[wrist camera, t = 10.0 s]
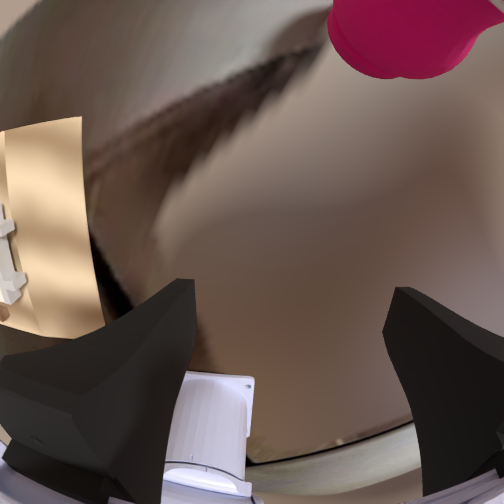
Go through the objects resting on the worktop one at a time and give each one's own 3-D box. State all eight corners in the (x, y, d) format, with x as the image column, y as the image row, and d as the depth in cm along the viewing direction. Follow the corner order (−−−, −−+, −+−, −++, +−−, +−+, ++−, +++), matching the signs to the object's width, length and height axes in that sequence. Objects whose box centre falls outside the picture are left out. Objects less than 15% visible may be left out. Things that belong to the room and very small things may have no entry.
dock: (113, 334, 24) (95, 363, 21) (-15, 305, 24) (-34, 323, 21) (88, 116, 17) (55, 117, 14) (-45, 147, 17) (-73, 155, 14)
